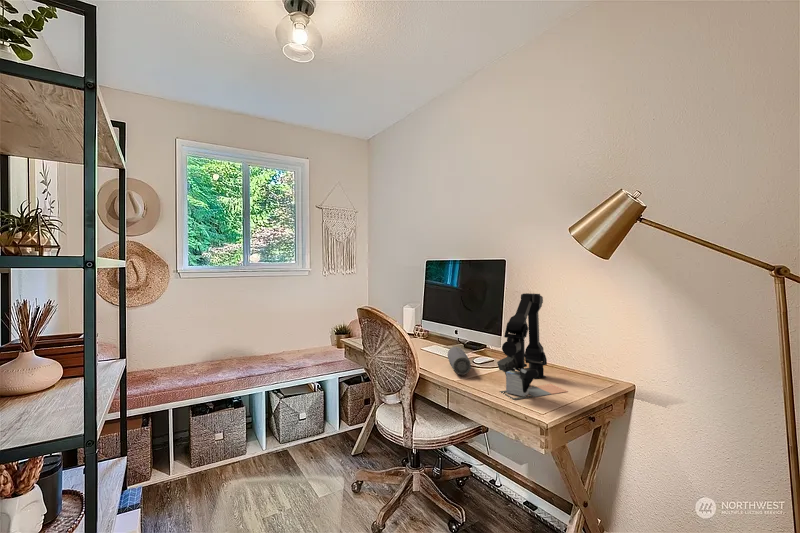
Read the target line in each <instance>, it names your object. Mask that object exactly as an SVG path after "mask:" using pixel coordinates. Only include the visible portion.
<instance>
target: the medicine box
mask: <svg viewBox="0 0 800 533" xmlns="http://www.w3.org/2000/svg"><path fill="white" fill-rule="evenodd" d="M519 376H520V371H517V370H515V371H513V370H510V371H508V372H506V375H505V389H506V390H505V391H506V393H505V394H511V395H515V396H518V397H525V396H529V388H528V390H527V392H526V393H523V386H522V379H521V378H520V377H519Z"/></svg>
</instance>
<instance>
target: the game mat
mask: <svg viewBox="0 0 800 533" xmlns="http://www.w3.org/2000/svg"><path fill="white" fill-rule="evenodd" d="M500 392H501V393H500ZM503 392H506V390H499V393H500V394H502V393H503ZM568 392H569V391H568V390H566V389H564V388H562V387H559V386H556V385H554V384H551V383H549V384H541V385H535V386H530V387H529V394H528V395H526V396H525V397H523V396H517V397H512V396H510V395H509V394H508V393H503V394H502V395H504V394H505V395H504V396H506V397H508V398H509V397H510V398H509V399H511V398H512V399H511V400H514V401H518V400H525V399H531V398H537V397H545V396H550V395H556V394H563V393H564V394H565V393H568Z"/></svg>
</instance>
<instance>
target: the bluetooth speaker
mask: <svg viewBox="0 0 800 533" xmlns="http://www.w3.org/2000/svg"><path fill="white" fill-rule="evenodd" d="M447 359H448V362H449V365H450V366H451V368H452V370H453V371H454V372H455V373H456V374H458V375H461V376H463V375H467V374H468V373H469V372H470V371H471V368H472V367H471V366H472V364H471V361H470V358H469V356H467V354H466V352H465V351H464V350H463V349H462V348H460V347H458V346H452V347H451V348H449V349H448V352H447Z"/></svg>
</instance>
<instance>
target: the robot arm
mask: <svg viewBox="0 0 800 533" xmlns="http://www.w3.org/2000/svg"><path fill="white" fill-rule="evenodd" d="M543 303H544V297H543V296H542V295H541V294H540V293H531V292H530V293H529V292H528V293H527V292H526V293H522V294H521V295H520V300H519V304H518V307H517V309H516V311H515V314H514V315H513V316H511V317H510V318H509V320H508V322H507V323H506V328H505V332H504V336H503V337H504V338H506V341H505V342H504V343H503V344H502V346H501V350H502V353H503V354H504V355H505V356H506V357H504V358H502V359H499V360H498V361H496V364H497V367H498V370H499V371H502V372H503V373H504V374H505V376H506V372H508V371H510V370H513V371H519V372H520V376H519V377H520V378H521V379H522V386H523V393H526V392H527V390H528V388H529V386H530V387H531V384H532V382H533V381H534V379H542V378H543V379H544V378H547V376H546V375H544V374H545V373H544V372H545V371H544V366H547V364H548V360H547V356H546V353H545V351H544V347H543V345H542V343H541V342H540V322H539V319H540V317H539V313H540V311H541V308H542V307H543ZM527 320H528V322H527ZM527 335H528V336H527ZM527 337H528V345H527V346H526V348H525V344H526V343H525V341H526V340H525V339H526V338H527Z"/></svg>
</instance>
